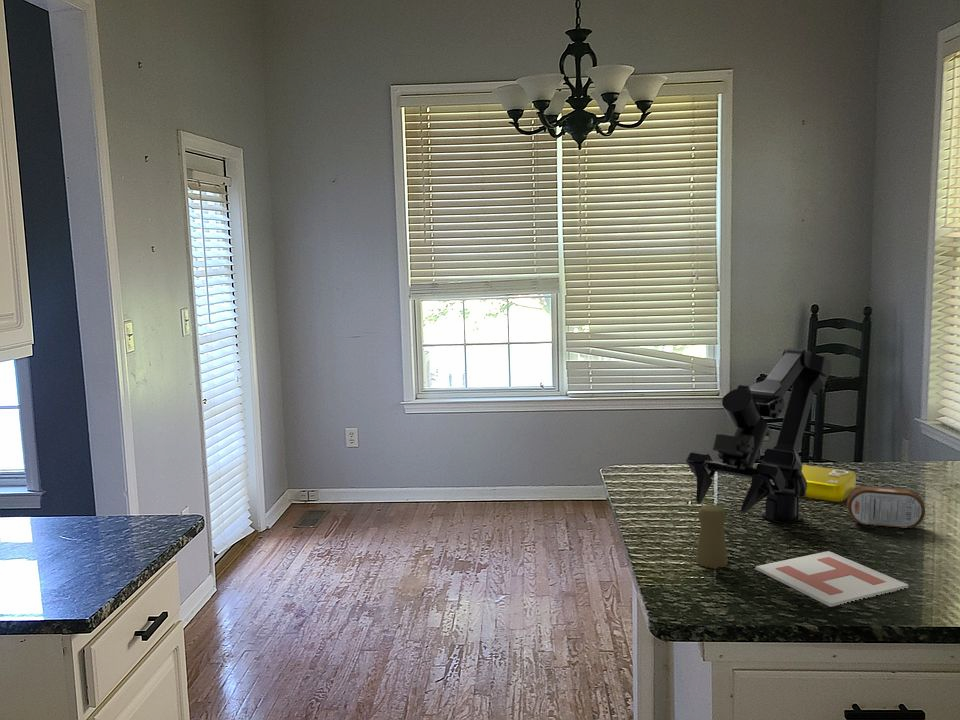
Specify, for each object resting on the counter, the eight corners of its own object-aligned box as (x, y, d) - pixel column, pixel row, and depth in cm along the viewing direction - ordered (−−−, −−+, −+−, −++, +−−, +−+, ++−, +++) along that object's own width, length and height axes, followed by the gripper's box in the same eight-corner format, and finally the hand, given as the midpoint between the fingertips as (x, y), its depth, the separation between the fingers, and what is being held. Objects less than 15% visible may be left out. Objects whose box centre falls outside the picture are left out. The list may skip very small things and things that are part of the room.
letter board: (828, 553, 161) (828, 550, 161) (908, 587, 144) (908, 584, 144) (755, 569, 154) (755, 565, 154) (830, 606, 137) (830, 602, 137)
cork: (729, 568, 154) (730, 512, 153) (696, 567, 155) (696, 510, 154) (726, 557, 160) (727, 502, 159) (694, 555, 161) (695, 501, 160)
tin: (922, 527, 175) (924, 488, 174) (925, 532, 172) (927, 493, 171) (845, 520, 180) (847, 483, 179) (846, 525, 177) (848, 487, 176)
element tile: (795, 479, 213) (795, 461, 212) (857, 488, 204) (858, 470, 203) (776, 494, 201) (777, 474, 201) (841, 504, 192) (842, 484, 192)
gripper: (691, 412, 167) (662, 476, 160) (781, 424, 154) (753, 494, 147) (709, 443, 173) (681, 506, 167) (796, 457, 161) (771, 525, 154)
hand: (719, 507), depth 159 cm, fingers open, 9 cm apart
